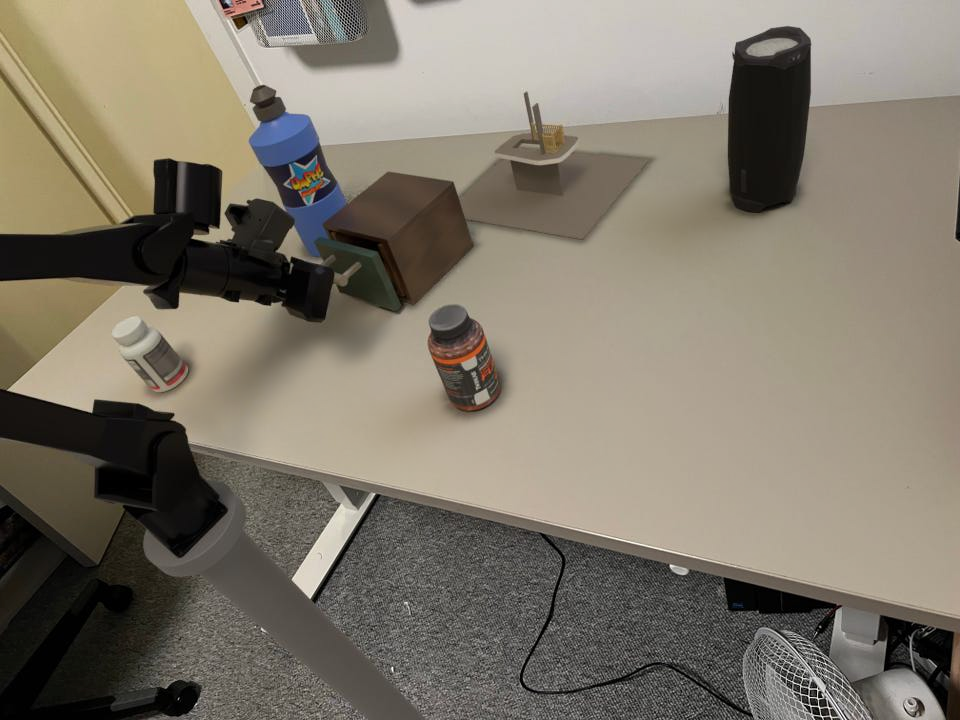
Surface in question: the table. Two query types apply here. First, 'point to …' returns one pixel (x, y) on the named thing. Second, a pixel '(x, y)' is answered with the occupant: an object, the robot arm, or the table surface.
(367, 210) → the cabinet
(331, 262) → the drawer
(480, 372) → the supplement bottle
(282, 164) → the water bottle
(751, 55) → the portable speaker
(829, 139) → the table surface
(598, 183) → the architectural model
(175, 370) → the pill bottle
